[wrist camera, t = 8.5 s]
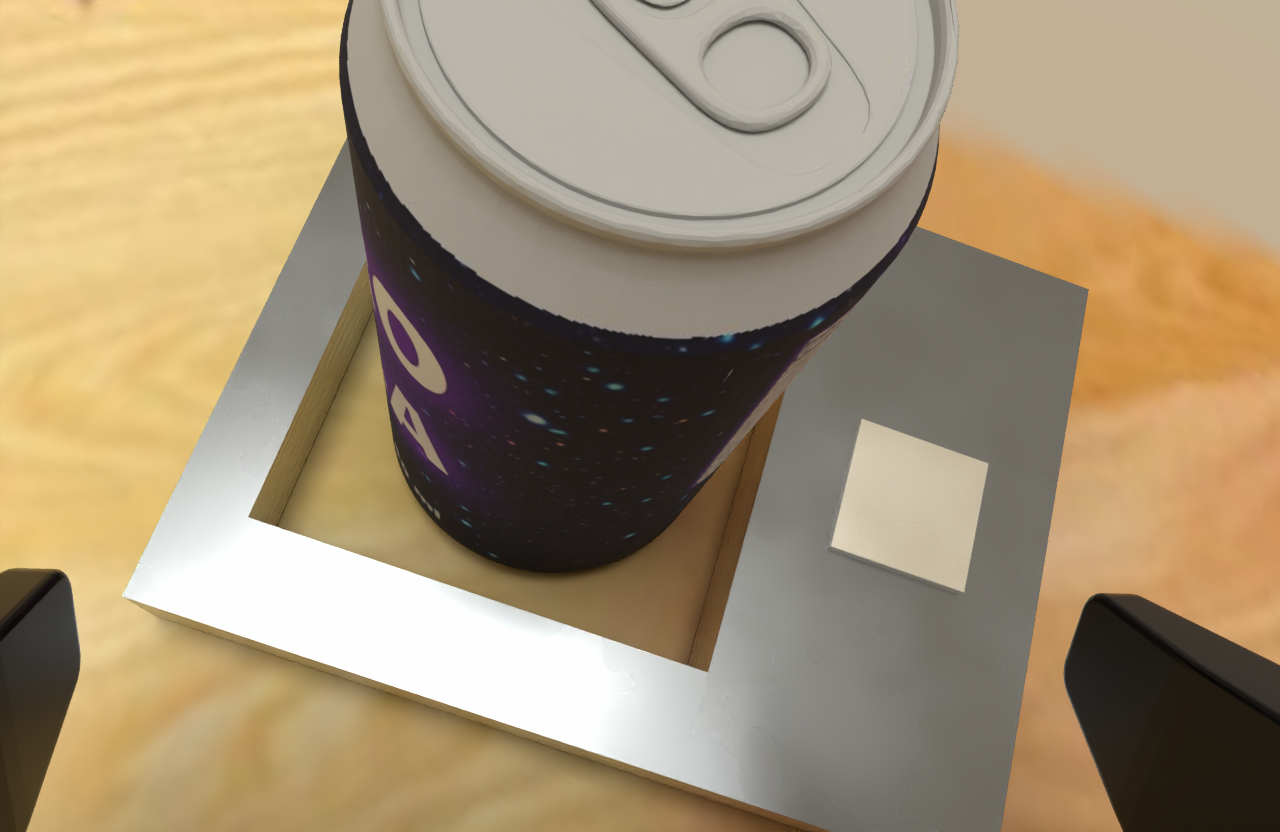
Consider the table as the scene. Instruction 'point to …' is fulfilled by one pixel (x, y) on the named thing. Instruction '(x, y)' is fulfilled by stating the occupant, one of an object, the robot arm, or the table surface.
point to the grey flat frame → (746, 565)
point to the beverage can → (620, 237)
